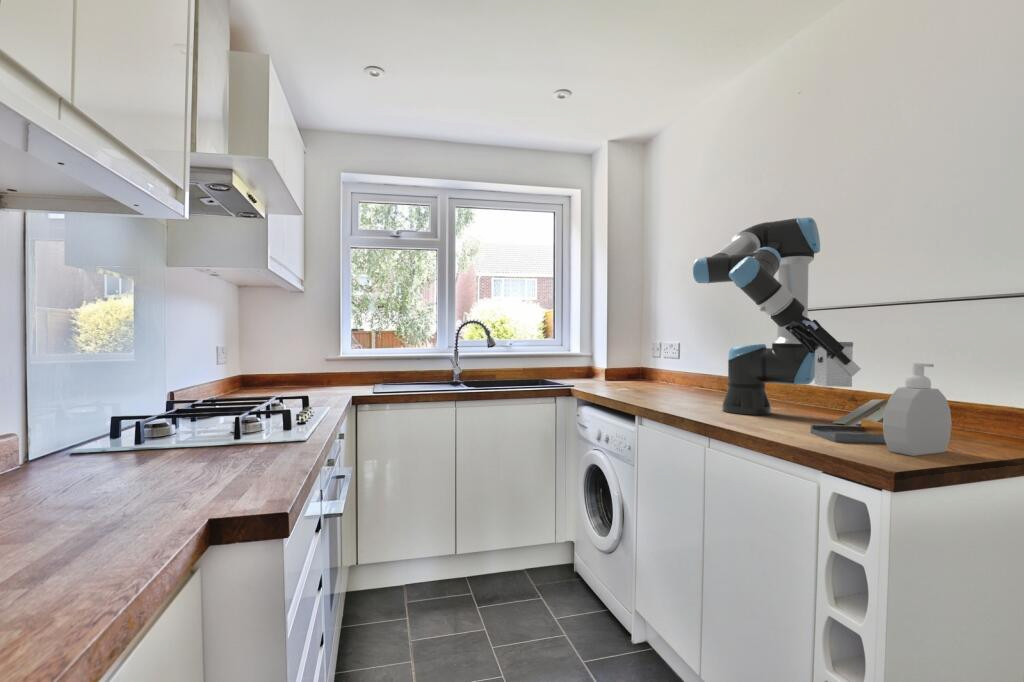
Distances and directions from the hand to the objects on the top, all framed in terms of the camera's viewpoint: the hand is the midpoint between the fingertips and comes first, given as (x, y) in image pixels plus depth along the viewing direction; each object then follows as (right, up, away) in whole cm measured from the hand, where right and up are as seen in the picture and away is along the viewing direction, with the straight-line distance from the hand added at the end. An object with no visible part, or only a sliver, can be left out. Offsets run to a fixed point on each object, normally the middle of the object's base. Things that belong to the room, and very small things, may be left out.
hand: (848, 371), depth 126 cm
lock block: (-4, -4, 0) cm, 5 cm away
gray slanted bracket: (+18, -18, +17) cm, 31 cm away
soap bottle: (+6, -17, -15) cm, 24 cm away
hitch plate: (+1, -17, +1) cm, 17 cm away
